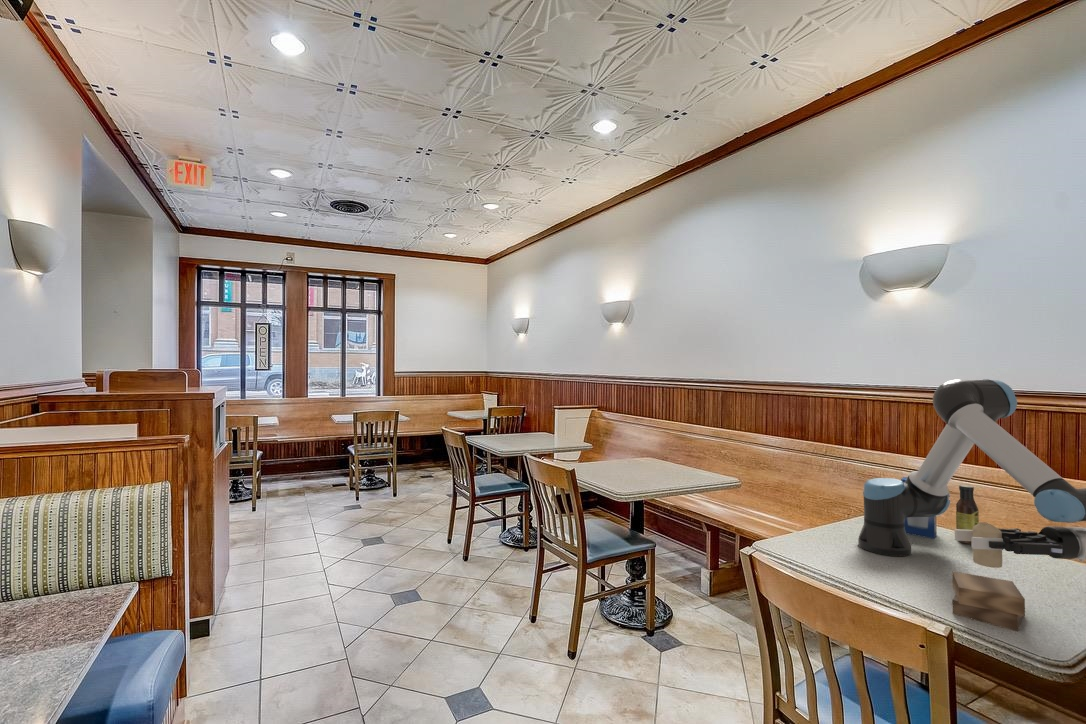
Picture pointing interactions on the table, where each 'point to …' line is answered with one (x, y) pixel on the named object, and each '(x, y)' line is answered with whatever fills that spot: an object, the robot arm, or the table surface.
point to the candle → (983, 555)
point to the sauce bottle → (966, 510)
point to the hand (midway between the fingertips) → (964, 538)
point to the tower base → (987, 615)
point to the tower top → (988, 593)
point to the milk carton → (920, 524)
